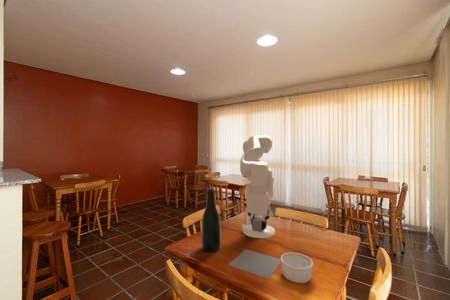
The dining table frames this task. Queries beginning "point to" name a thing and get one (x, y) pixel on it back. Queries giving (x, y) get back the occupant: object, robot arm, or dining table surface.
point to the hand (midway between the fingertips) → (258, 227)
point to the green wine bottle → (211, 224)
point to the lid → (258, 229)
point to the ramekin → (296, 267)
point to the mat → (256, 263)
